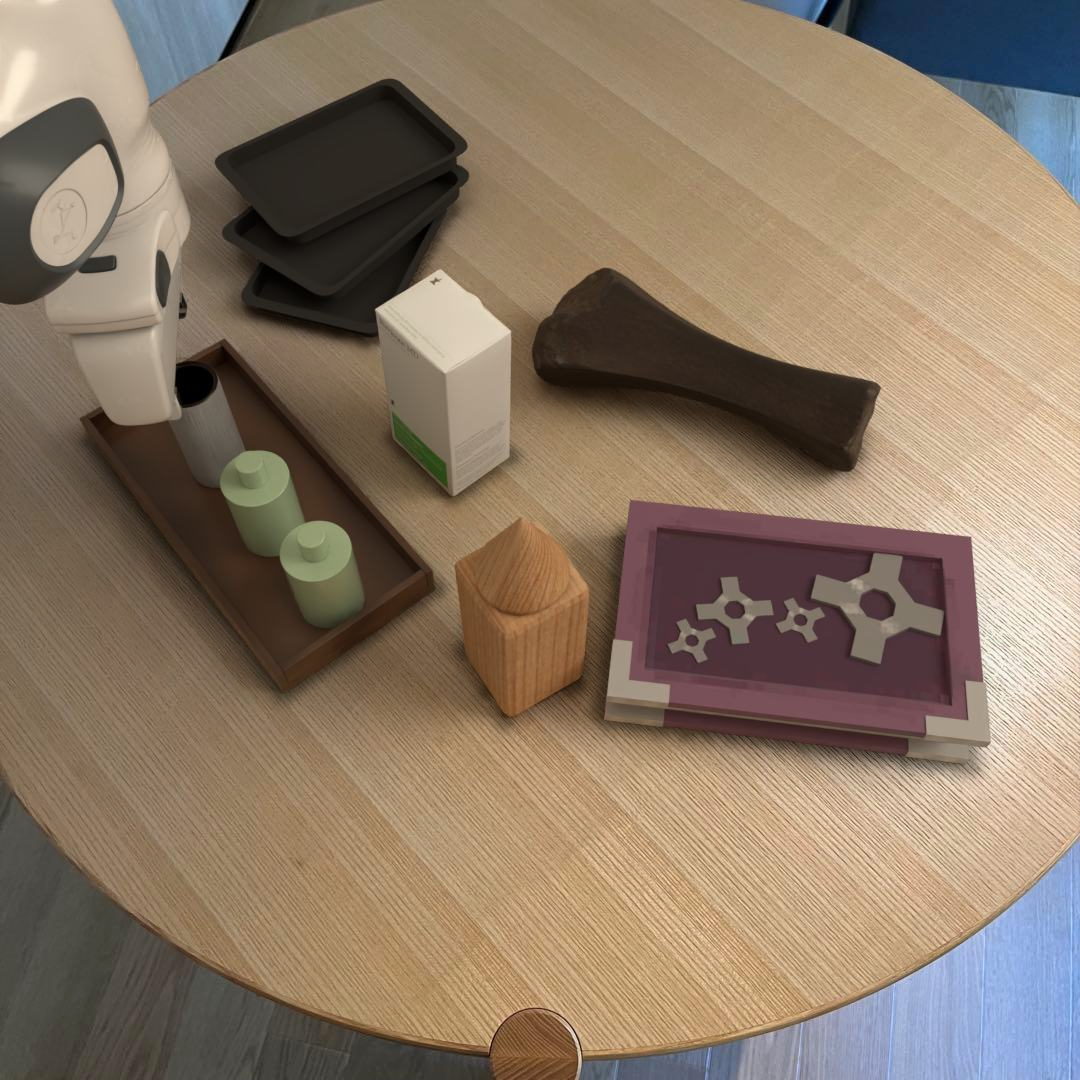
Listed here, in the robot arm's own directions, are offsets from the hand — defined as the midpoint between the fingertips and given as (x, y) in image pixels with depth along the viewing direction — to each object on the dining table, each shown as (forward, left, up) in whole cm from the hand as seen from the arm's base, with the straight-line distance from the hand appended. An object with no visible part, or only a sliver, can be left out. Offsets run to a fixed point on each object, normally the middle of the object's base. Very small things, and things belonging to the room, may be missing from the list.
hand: (173, 360), depth 80 cm
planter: (0, -1, -13) cm, 13 cm away
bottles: (0, -12, -12) cm, 18 cm away
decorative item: (+8, -29, -14) cm, 33 cm away
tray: (+24, +18, -14) cm, 33 cm away
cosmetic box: (+16, -10, -14) cm, 24 cm away
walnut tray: (0, -5, -13) cm, 14 cm away
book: (+24, -40, -14) cm, 49 cm away
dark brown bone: (+35, -19, -14) cm, 43 cm away
